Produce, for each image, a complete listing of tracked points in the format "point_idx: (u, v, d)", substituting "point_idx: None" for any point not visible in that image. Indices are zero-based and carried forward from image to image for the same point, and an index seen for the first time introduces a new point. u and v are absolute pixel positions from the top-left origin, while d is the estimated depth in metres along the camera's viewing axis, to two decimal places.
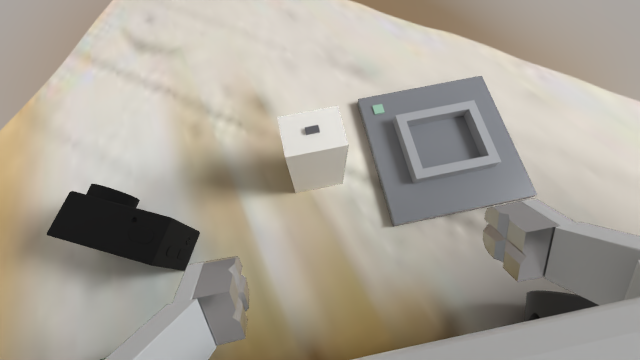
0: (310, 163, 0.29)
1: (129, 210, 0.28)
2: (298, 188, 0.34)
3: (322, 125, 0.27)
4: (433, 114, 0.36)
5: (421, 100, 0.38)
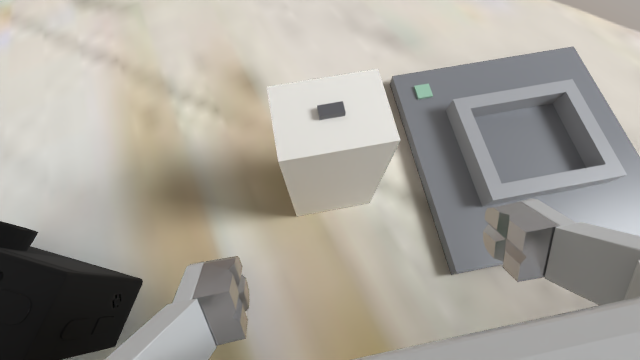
0: (324, 172, 0.16)
1: None
2: (301, 210, 0.22)
3: (349, 102, 0.15)
4: (511, 99, 0.23)
5: (487, 79, 0.26)
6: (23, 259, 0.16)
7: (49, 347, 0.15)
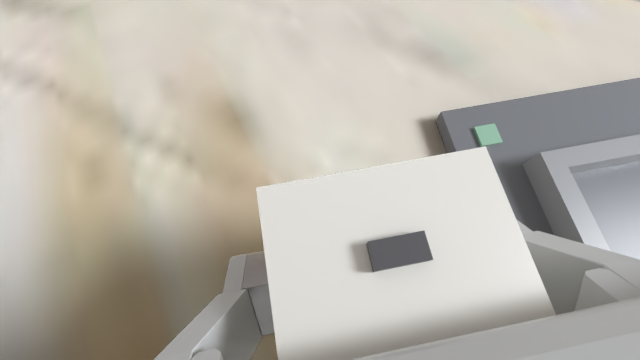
0: None
1: None
2: None
3: (435, 228, 0.07)
4: (627, 152, 0.16)
5: (577, 117, 0.18)
6: None
7: None
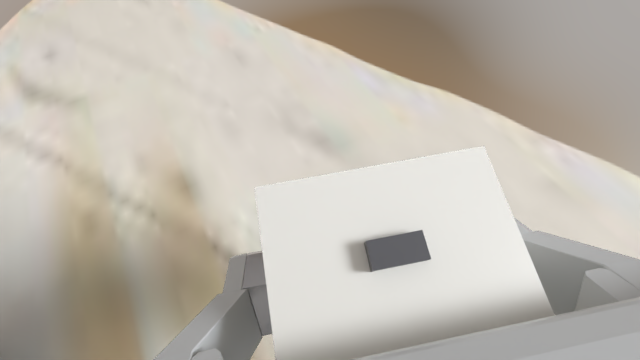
0: None
1: None
2: None
3: (433, 228, 0.07)
4: None
5: None
6: None
7: None
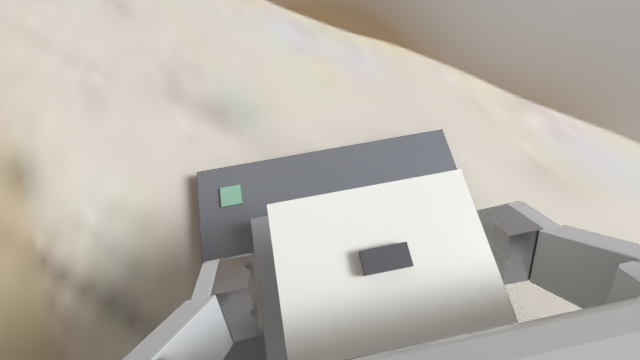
0: None
1: None
2: None
3: (416, 239, 0.08)
4: None
5: (320, 178, 0.19)
6: None
7: None
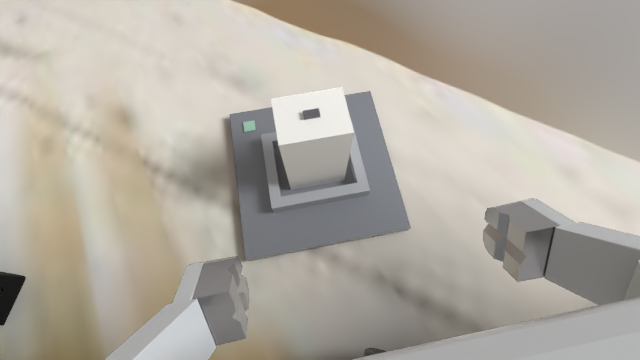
0: (308, 154, 0.24)
1: None
2: (294, 184, 0.30)
3: (323, 109, 0.23)
4: None
5: None
6: None
7: None
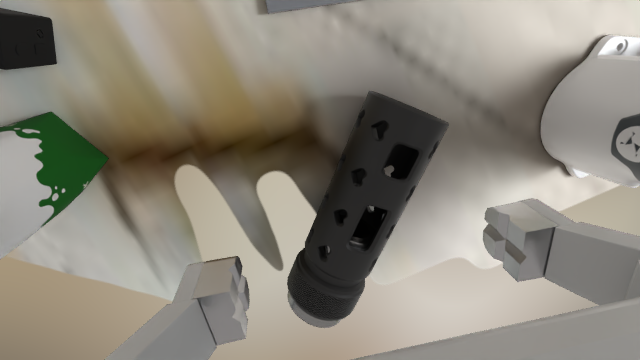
0: None
1: None
2: None
3: None
4: None
5: None
6: None
7: (14, 59, 0.27)
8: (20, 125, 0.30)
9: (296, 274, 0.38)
